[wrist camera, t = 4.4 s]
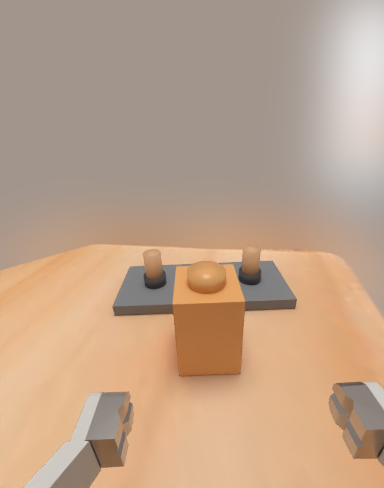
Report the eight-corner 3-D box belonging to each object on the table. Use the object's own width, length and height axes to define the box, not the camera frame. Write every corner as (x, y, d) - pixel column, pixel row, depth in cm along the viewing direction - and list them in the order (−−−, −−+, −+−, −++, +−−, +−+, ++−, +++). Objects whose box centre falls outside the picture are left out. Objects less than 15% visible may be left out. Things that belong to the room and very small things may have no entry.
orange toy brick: (179, 375, 24) (171, 292, 19) (181, 329, 29) (175, 256, 24) (240, 373, 23) (246, 289, 19) (230, 327, 29) (233, 254, 24)
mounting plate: (114, 315, 32) (104, 274, 29) (131, 274, 41) (124, 239, 38) (295, 308, 31) (303, 266, 29) (271, 268, 40) (275, 233, 38)
